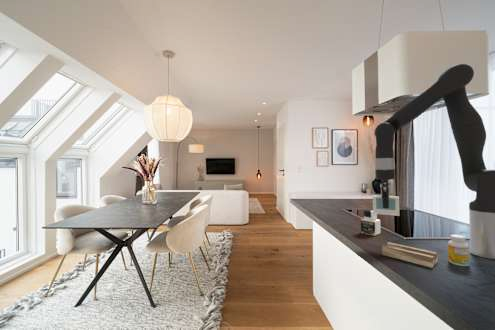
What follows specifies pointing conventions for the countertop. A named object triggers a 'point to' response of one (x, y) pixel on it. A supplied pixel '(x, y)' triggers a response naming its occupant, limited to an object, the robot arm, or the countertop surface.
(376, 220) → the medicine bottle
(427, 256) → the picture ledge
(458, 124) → the robot arm
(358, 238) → the countertop surface
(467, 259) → the supplement bottle
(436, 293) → the countertop surface
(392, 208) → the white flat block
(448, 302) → the countertop surface
